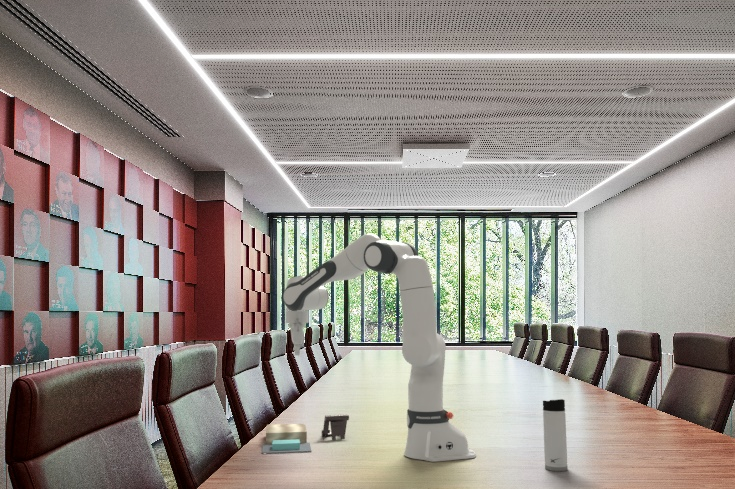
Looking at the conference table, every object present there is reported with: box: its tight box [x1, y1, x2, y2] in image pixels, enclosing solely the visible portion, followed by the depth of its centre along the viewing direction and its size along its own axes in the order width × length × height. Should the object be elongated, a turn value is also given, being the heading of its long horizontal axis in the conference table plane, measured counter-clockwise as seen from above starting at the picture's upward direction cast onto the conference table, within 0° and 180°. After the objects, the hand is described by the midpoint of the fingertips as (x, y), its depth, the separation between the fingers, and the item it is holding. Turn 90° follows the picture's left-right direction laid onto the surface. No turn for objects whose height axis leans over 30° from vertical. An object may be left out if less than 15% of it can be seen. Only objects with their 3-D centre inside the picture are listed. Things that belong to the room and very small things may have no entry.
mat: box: [261, 442, 312, 454], centre depth 207 cm, size 16×13×1 cm
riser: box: [265, 423, 308, 444], centre depth 221 cm, size 14×16×4 cm
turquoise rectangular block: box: [272, 439, 300, 450], centre depth 206 cm, size 9×6×2 cm, turn 98°
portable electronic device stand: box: [321, 413, 350, 441], centre depth 225 cm, size 9×8×8 cm
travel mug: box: [542, 398, 569, 472], centre depth 179 cm, size 6×7×20 cm
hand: (297, 355), depth 235 cm, fingers closed
